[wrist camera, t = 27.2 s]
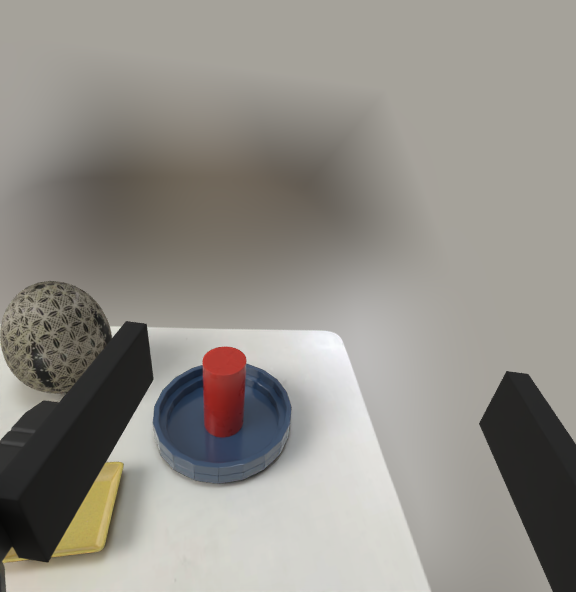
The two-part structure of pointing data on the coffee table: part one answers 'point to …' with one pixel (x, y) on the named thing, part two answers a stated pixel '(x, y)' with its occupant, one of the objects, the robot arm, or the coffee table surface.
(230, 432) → the cylinder
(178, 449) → the dish
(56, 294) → the decorative egg
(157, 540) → the coffee table surface
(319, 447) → the coffee table surface
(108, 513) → the saucer
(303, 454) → the coffee table surface
